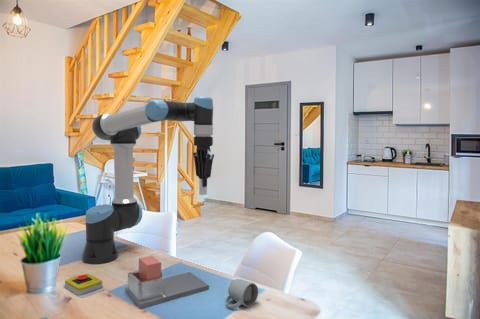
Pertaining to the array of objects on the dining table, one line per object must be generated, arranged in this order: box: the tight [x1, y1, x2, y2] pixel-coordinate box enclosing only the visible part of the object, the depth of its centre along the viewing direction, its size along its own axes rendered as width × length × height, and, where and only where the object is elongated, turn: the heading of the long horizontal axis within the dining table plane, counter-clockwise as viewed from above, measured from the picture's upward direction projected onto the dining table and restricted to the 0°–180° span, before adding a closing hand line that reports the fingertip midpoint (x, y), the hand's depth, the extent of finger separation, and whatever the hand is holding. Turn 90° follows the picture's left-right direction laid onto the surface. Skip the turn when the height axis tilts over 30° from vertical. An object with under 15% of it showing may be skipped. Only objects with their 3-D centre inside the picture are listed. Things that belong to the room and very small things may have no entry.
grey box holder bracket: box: [127, 270, 166, 302], centre depth 125 cm, size 11×9×6 cm
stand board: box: [124, 271, 210, 310], centre depth 130 cm, size 15×26×2 cm, turn 126°
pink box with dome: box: [138, 255, 163, 282], centre depth 126 cm, size 8×6×11 cm
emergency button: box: [62, 273, 106, 299], centre depth 132 cm, size 9×4×15 cm
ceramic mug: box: [224, 278, 259, 310], centre depth 121 cm, size 11×8×8 cm
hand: (203, 194), depth 145 cm, fingers closed
